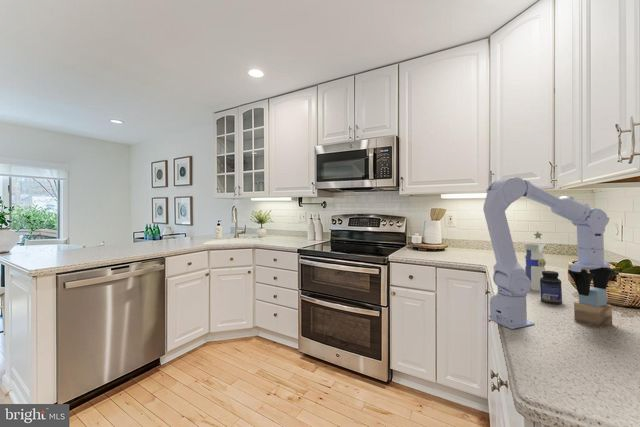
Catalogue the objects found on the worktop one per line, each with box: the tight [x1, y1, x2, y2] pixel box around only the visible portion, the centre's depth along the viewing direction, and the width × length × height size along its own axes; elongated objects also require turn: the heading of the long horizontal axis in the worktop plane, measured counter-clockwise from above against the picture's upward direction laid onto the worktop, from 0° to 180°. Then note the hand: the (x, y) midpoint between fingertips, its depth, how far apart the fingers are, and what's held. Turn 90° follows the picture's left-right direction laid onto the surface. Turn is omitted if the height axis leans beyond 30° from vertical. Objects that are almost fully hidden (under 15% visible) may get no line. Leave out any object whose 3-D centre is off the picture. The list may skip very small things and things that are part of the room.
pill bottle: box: [539, 270, 563, 305], centre depth 103 cm, size 6×6×11 cm
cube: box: [578, 286, 608, 307], centre depth 83 cm, size 4×4×4 cm
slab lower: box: [573, 311, 613, 329], centre depth 84 cm, size 6×6×3 cm
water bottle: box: [522, 231, 547, 292], centre depth 120 cm, size 8×9×25 cm
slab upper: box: [573, 300, 613, 319], centre depth 83 cm, size 6×6×3 cm
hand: (591, 293), depth 84 cm, fingers open, 7 cm apart
